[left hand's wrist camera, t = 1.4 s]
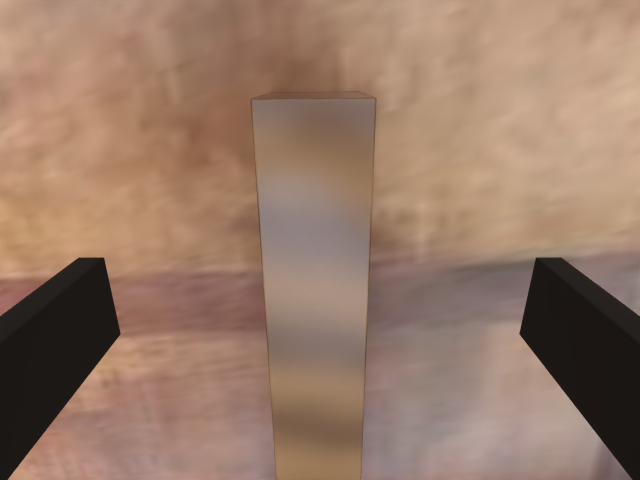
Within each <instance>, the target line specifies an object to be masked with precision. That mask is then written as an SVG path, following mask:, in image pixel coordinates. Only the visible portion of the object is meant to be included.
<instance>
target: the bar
mask: <svg viewBox="0 0 640 480" xmlns="http://www.w3.org/2000/svg"><path fill="white" fill-rule="evenodd" d="M251 111H252V126H253V141H254V155H255V170H256V185H257V199H258V214H259V229H260V244H261V258H262V273H263V288H264V302H265V317H266V332H267V347H268V361H269V376H270V391H271V405H272V420H273V435H274V450H275V464H276V479H277V480H361V462H362V438H363V413H364V389H365V364H366V340H367V315H368V291H369V267H370V242H371V218H372V193H373V169H374V144H375V120H376V98H375V97H372V96H370V95H367V94H364V93H361V92H272V93H269V94H265V95H262V96H259V97H255V98H252V99H251Z"/></svg>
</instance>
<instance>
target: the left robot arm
mask: <svg viewBox="0 0 640 480" xmlns="http://www.w3.org/2000/svg"><path fill="white" fill-rule="evenodd" d="M119 335H120V329H119V325H118V320H117V315H116V311H115V306H114V302H113V297H112V292H111V288H110V283H109V279H108V274H107V269H106V265H105V260H104V258H78V259H76V260H75V261H74V262H72V263H71V264H70V265H68V266H67V267H66V268H64V269H63V270H62V271H60V272H59V273H58V274H56V275H55V276H54V277H52V278H51V279H50V280H48V281H47V282H46V283H44V284H43V285H41V286H40V287H39V288H37V289H36V290H35V291H33V292H32V293H31V294H29V295H28V296H27V297H25V298H24V299H23V300H21V301H20V302H19V303H17V304H16V305H15V306H13V307H12V308H11V309H9V310H8V311H7V312H5V313H4V314H3V315H1V316H0V480H8V478H9V477H10V476H11V475H12V473H13V472H14V471H15V469H16V468H17V467H18V466H19V464H20V463H21V462H22V460H23V459H24V458H25V456H26V455H27V454H28V453H29V451H30V450H31V449H32V447H33V446H34V445H35V444H36V442H37V441H38V440H39V438H40V437H41V436H42V435H43V433H44V432H45V431H46V429H47V428H48V427H49V426H50V424H51V423H52V422H53V420H54V419H55V418H56V417H57V415H58V414H59V413H60V411H61V410H62V409H63V408H64V406H65V405H66V404H67V402H68V401H69V400H70V399H71V397H72V396H73V395H74V393H75V392H76V391H77V390H78V388H79V387H80V386H81V384H82V383H83V382H84V381H85V379H86V378H87V377H88V375H89V374H90V373H91V372H92V370H93V369H94V368H95V366H96V365H97V364H98V362H99V361H100V360H101V359H102V357H103V356H104V355H105V353H106V352H107V351H108V350H109V348H110V347H111V346H112V344H113V343H114V342H115V341H116V339H117V338H118V337H119ZM520 335H521V337H522V338H523V339H524V341H525V342H526V343H527V344H528V346H529V347H530V348H531V350H532V351H533V352H534V353H535V355H536V356H537V357H538V359H539V360H540V361H541V362H542V364H543V365H544V366H545V368H546V369H547V370H548V372H549V373H550V374H551V375H552V377H553V378H554V379H555V381H556V382H557V383H558V384H559V386H560V387H561V388H562V390H563V391H564V392H565V393H566V395H567V396H568V397H569V399H570V400H571V401H572V402H573V404H574V405H575V406H576V408H577V409H578V410H579V411H580V413H581V414H582V415H583V417H584V418H585V419H586V420H587V422H588V423H589V424H590V426H591V427H592V428H593V429H594V431H595V432H596V433H597V435H598V436H599V437H600V438H601V440H602V441H603V442H604V444H605V445H606V446H607V447H608V449H609V450H610V451H611V453H612V454H613V455H614V456H615V458H616V459H617V460H618V462H619V463H620V464H621V466H622V467H623V468H624V469H625V471H626V472H627V473H628V475H629V476H630V477H631V478H632V480H640V316H639V315H637V314H636V313H635V312H633V311H632V310H631V309H629V308H628V307H627V306H625V305H624V304H623V303H621V302H620V301H619V300H617V299H616V298H615V297H613V296H612V295H611V294H609V293H608V292H607V291H605V290H604V289H603V288H601V287H600V286H599V285H597V284H596V283H594V282H593V281H592V280H590V279H589V278H588V277H586V276H585V275H584V274H582V273H581V272H580V271H578V270H577V269H576V268H574V267H573V266H572V265H570V264H569V263H568V262H566V261H565V260H564V259H562V258H536V260H535V265H534V269H533V274H532V279H531V283H530V288H529V292H528V297H527V302H526V306H525V311H524V315H523V320H522V325H521V329H520Z"/></svg>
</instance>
